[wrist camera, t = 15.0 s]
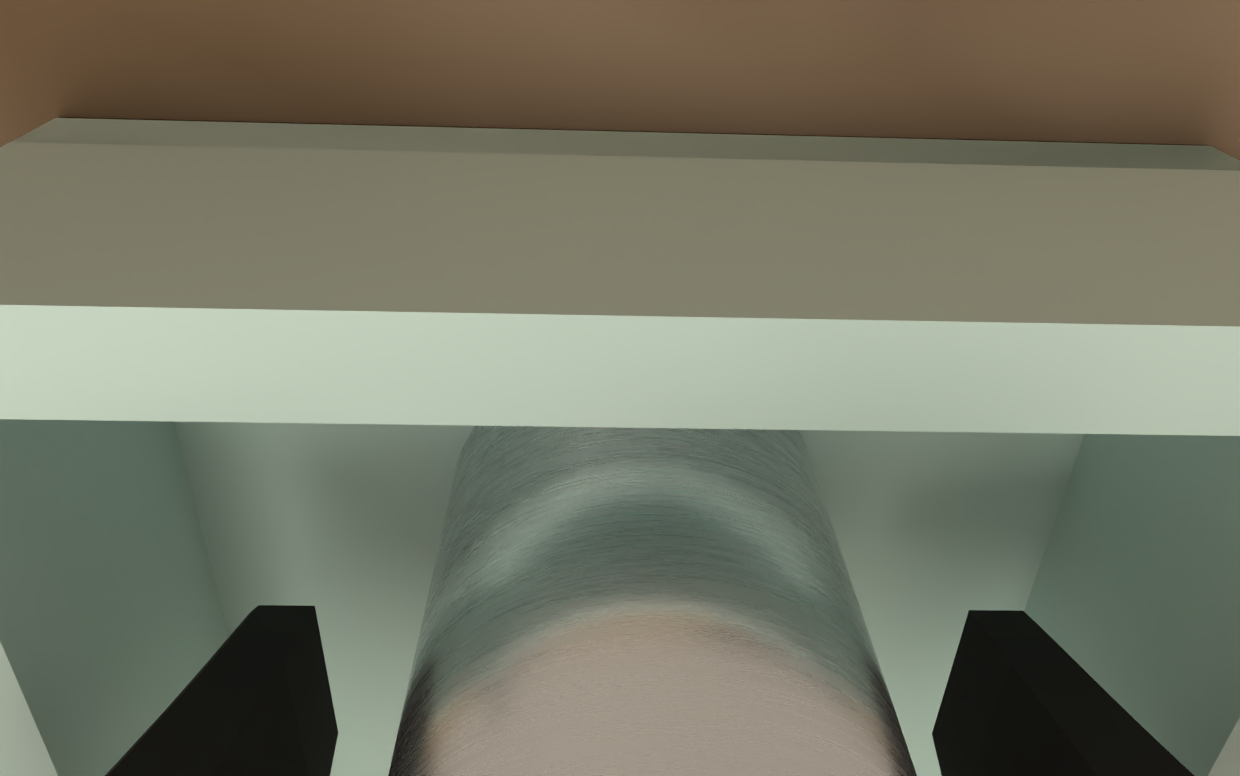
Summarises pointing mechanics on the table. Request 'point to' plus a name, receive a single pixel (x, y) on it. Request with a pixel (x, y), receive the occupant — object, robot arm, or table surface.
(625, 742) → the metal cylinder
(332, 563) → the tote
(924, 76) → the table surface
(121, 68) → the table surface
